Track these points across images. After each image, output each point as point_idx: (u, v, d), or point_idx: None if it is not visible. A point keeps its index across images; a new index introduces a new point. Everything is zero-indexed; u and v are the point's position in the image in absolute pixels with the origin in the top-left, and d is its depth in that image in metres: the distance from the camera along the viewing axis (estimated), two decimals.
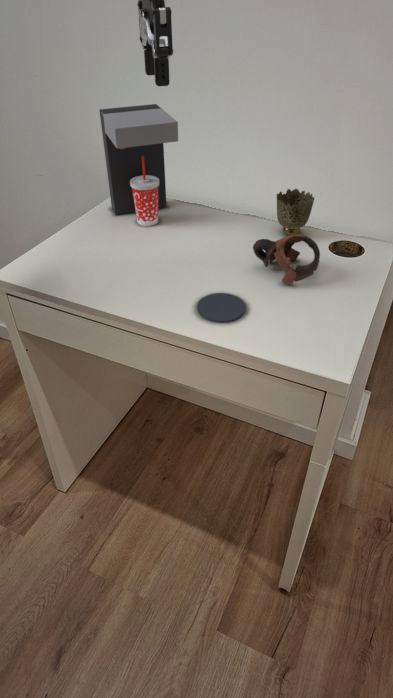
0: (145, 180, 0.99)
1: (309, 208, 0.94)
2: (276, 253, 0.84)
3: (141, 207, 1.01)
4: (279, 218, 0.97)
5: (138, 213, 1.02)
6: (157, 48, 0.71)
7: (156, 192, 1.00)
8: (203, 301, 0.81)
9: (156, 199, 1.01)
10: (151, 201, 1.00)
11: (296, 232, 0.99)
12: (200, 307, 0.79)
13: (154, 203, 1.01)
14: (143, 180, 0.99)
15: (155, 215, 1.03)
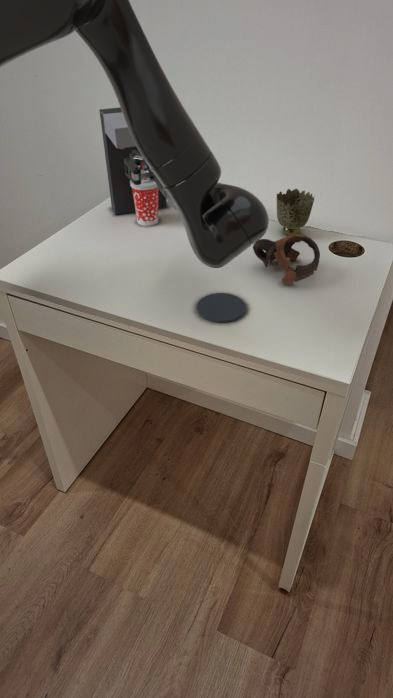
0: (145, 180, 0.99)
1: (309, 208, 0.94)
2: (276, 253, 0.84)
3: (141, 207, 1.01)
4: (279, 218, 0.97)
5: (138, 213, 1.02)
6: (125, 161, 0.79)
7: (156, 192, 1.00)
8: (203, 301, 0.81)
9: (156, 199, 1.01)
10: (151, 201, 1.00)
11: (296, 232, 0.99)
12: (200, 307, 0.79)
13: (154, 203, 1.01)
14: (143, 180, 0.99)
15: (155, 215, 1.03)
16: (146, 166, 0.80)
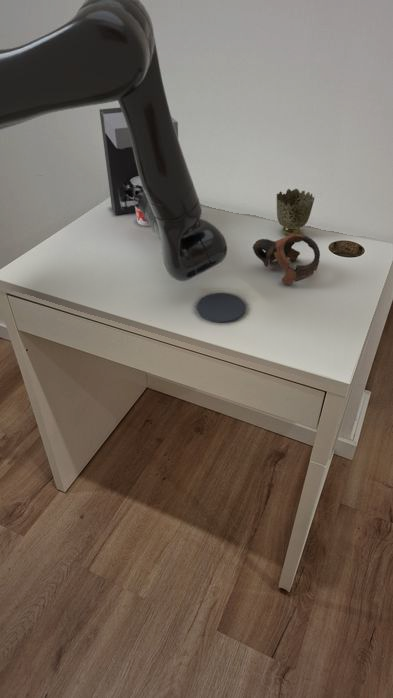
0: None
1: (309, 208, 0.94)
2: (276, 253, 0.84)
3: None
4: (279, 218, 0.97)
5: (138, 213, 1.02)
6: (118, 189, 0.96)
7: None
8: (203, 301, 0.81)
9: None
10: None
11: (296, 232, 0.99)
12: (200, 307, 0.79)
13: None
14: None
15: None
16: (134, 194, 0.96)
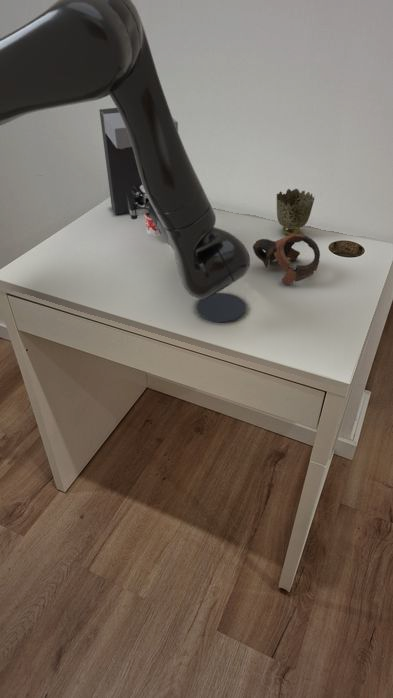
0: None
1: (309, 208, 0.94)
2: (276, 253, 0.84)
3: None
4: (279, 218, 0.97)
5: (148, 222, 0.95)
6: (127, 196, 0.89)
7: None
8: (203, 301, 0.81)
9: None
10: None
11: (296, 232, 0.99)
12: (200, 307, 0.79)
13: None
14: None
15: None
16: (144, 201, 0.89)
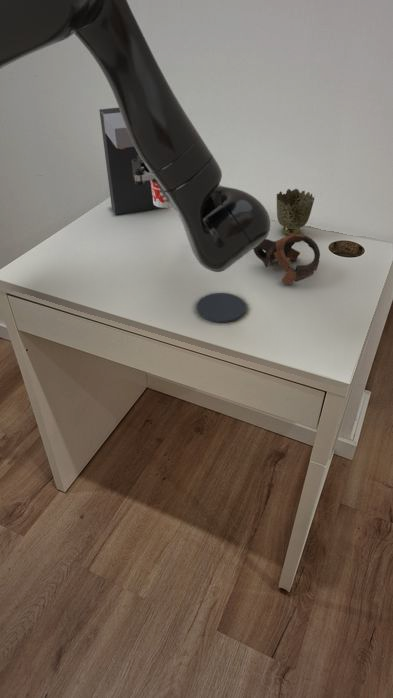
0: None
1: (309, 208, 0.94)
2: (276, 253, 0.84)
3: None
4: (279, 218, 0.97)
5: (155, 192, 0.86)
6: (132, 161, 0.80)
7: None
8: (203, 301, 0.81)
9: None
10: None
11: (296, 232, 0.99)
12: (200, 307, 0.79)
13: None
14: None
15: None
16: None
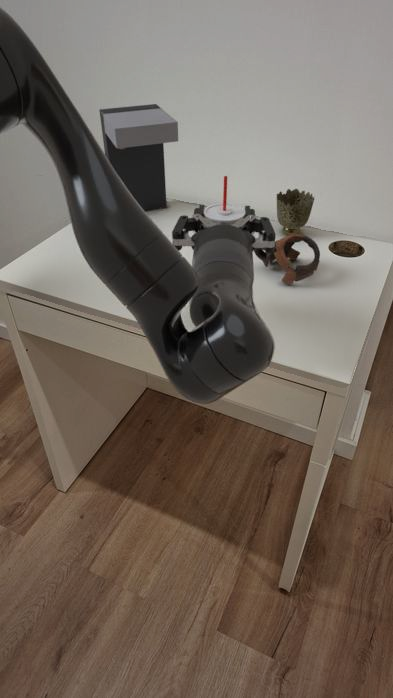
0: (224, 211, 0.68)
1: (309, 208, 0.94)
2: (276, 253, 0.84)
3: None
4: (279, 218, 0.97)
5: None
6: (179, 219, 0.67)
7: None
8: None
9: None
10: None
11: (296, 232, 0.99)
12: None
13: None
14: (221, 211, 0.68)
15: None
16: (199, 229, 0.66)
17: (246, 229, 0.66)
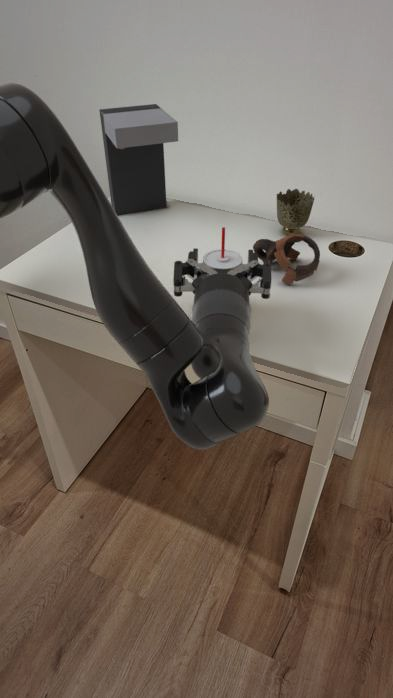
0: (222, 259, 0.73)
1: (309, 208, 0.94)
2: (276, 253, 0.84)
3: None
4: (279, 218, 0.97)
5: None
6: (174, 265, 0.71)
7: None
8: None
9: None
10: None
11: (296, 232, 0.99)
12: None
13: None
14: (220, 258, 0.73)
15: None
16: (196, 274, 0.70)
17: (243, 273, 0.70)
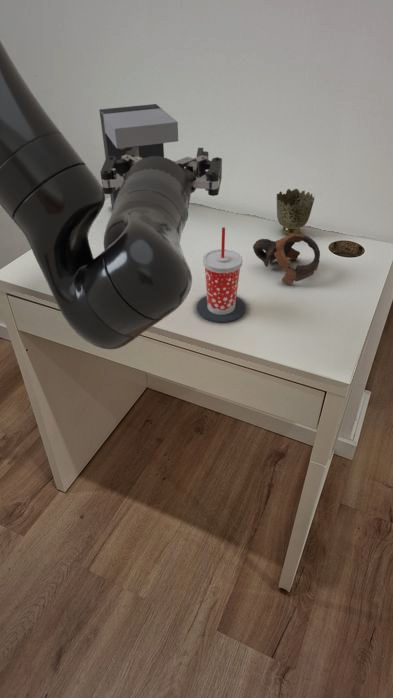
0: (222, 259, 0.73)
1: (309, 208, 0.94)
2: (276, 253, 0.84)
3: (211, 292, 0.75)
4: (279, 218, 0.97)
5: (207, 296, 0.77)
6: (106, 160, 0.59)
7: (234, 277, 0.73)
8: (203, 301, 0.81)
9: (233, 285, 0.74)
10: (225, 287, 0.74)
11: (296, 232, 0.99)
12: (200, 307, 0.79)
13: (229, 289, 0.74)
14: (220, 258, 0.73)
15: (229, 303, 0.76)
16: None
17: (188, 168, 0.58)
